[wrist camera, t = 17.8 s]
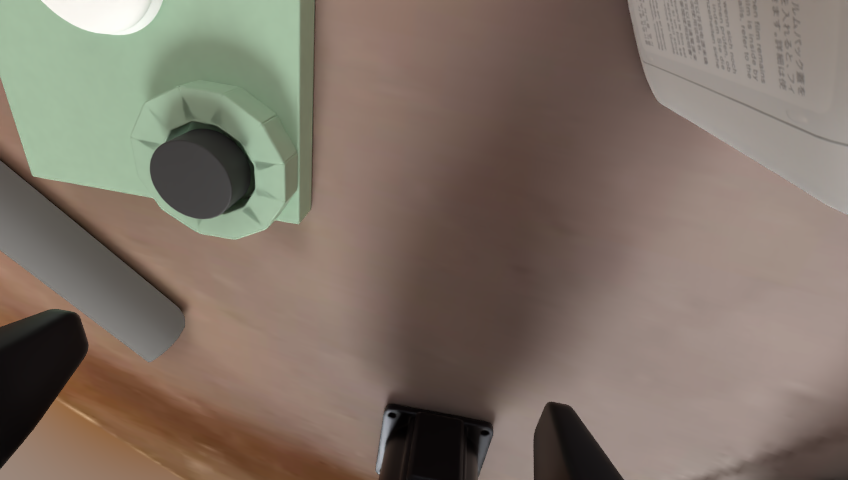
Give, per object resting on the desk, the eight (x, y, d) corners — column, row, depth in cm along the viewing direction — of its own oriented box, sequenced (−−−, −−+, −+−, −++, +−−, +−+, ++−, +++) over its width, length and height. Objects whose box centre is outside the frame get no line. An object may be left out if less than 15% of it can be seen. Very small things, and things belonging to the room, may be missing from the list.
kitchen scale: (311, 218, 21) (287, 250, 18) (64, 173, 21) (5, 198, 18) (318, -199, 13) (280, -247, 11) (-58, -259, 14) (-184, -319, 11)
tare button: (253, 208, 18) (234, 226, 16) (180, 195, 18) (156, 211, 16) (249, 135, 16) (228, 148, 15) (170, 121, 16) (142, 133, 15)
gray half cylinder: (156, 351, 26) (136, 374, 25) (-196, 80, 20) (-253, 87, 18) (198, 320, 25) (179, 342, 23) (-172, 14, 18) (-232, 16, 17)
